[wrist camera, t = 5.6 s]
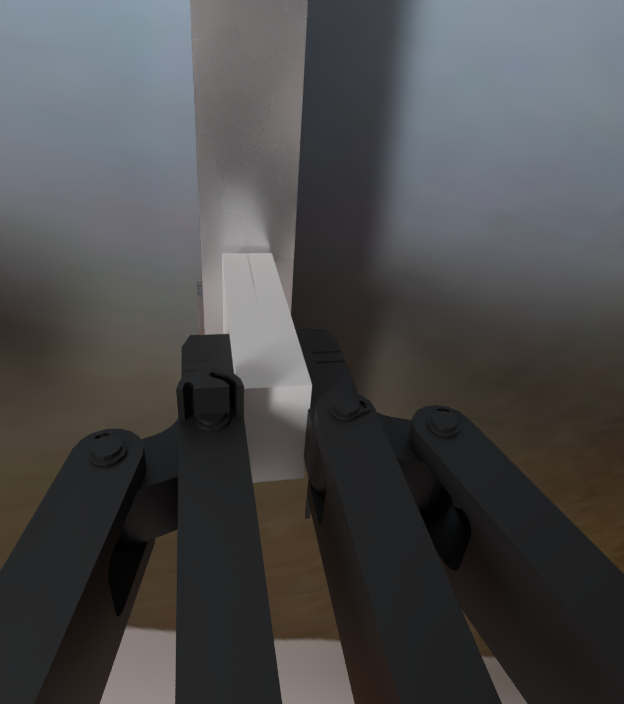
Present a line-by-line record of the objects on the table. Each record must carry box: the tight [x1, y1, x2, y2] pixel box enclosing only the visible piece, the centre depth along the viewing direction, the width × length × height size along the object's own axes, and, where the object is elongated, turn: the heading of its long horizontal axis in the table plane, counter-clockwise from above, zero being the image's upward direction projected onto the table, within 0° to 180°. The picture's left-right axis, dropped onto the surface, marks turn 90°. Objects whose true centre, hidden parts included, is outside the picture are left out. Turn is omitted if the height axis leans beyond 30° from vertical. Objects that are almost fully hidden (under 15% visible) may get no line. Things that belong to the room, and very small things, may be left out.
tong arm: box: [190, 0, 308, 335], centre depth 14 cm, size 3×27×2 cm, turn 176°
